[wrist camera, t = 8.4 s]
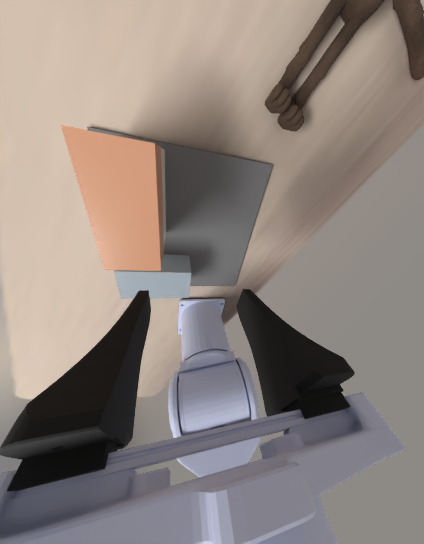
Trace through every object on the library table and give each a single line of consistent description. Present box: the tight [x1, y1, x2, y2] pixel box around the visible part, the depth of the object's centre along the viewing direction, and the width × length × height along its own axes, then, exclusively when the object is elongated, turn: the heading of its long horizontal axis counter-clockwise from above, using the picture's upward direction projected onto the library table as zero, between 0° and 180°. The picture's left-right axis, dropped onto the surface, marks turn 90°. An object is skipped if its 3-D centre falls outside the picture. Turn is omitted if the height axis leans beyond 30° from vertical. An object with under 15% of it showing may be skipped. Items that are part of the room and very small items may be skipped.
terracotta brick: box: [61, 125, 164, 271], centre depth 11 cm, size 8×4×4 cm, turn 171°
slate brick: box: [114, 254, 191, 299], centre depth 20 cm, size 8×4×4 cm, turn 81°
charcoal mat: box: [87, 127, 272, 286], centre depth 20 cm, size 17×17×1 cm
